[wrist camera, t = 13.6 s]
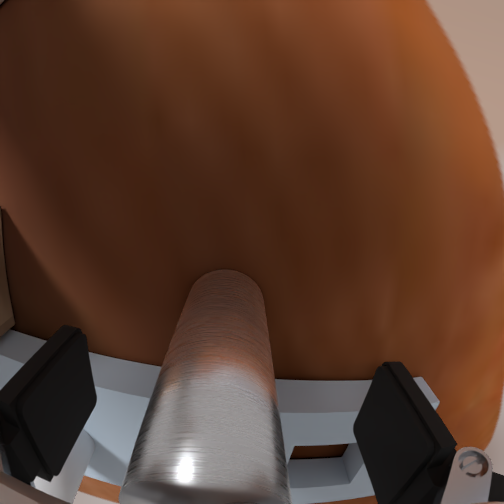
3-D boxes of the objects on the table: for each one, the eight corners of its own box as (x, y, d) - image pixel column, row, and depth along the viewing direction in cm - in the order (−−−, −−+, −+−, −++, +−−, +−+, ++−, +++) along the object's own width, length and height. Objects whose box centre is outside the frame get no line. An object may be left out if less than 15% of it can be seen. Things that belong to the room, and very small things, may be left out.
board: (1, 326, 14) (-80, 402, 6) (421, 376, 16) (489, 476, 7) (38, 431, 17) (-3, 505, 9) (367, 471, 18) (396, 555, 10)
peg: (190, 264, 13) (101, 462, 4) (269, 273, 13) (314, 485, 4) (186, 332, 14) (133, 530, 5) (258, 340, 14) (276, 544, 5)
